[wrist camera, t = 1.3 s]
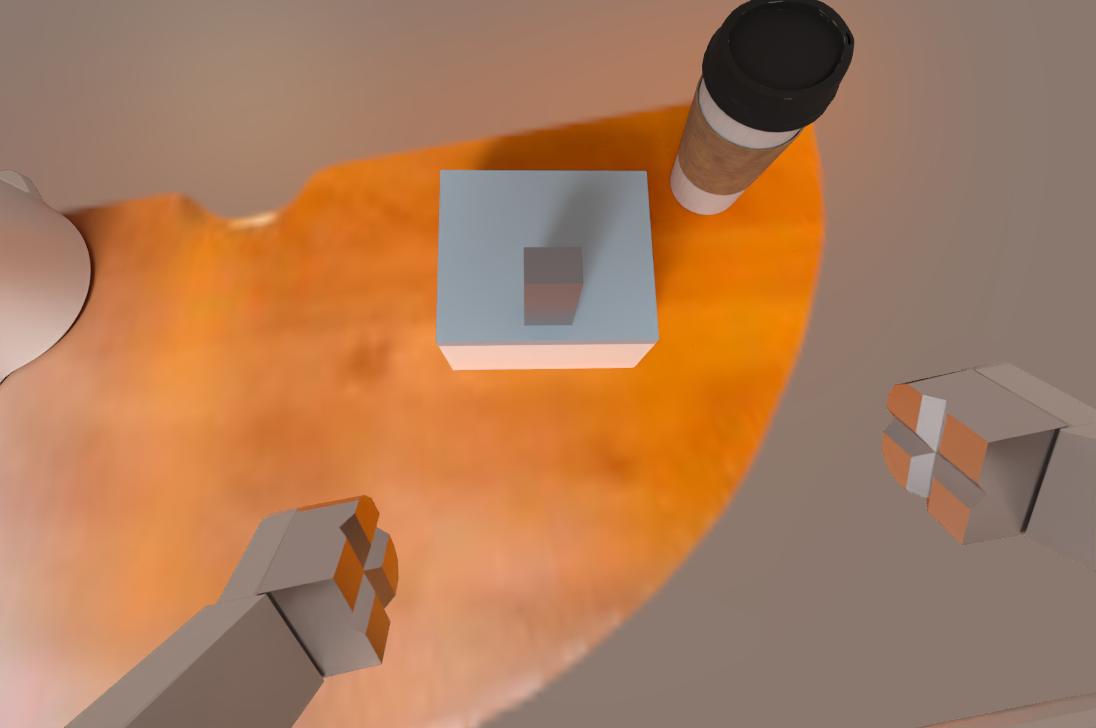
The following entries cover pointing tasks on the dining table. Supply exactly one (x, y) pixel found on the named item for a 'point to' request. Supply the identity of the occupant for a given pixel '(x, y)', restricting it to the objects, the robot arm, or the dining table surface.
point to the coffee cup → (757, 96)
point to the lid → (545, 258)
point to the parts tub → (544, 356)
